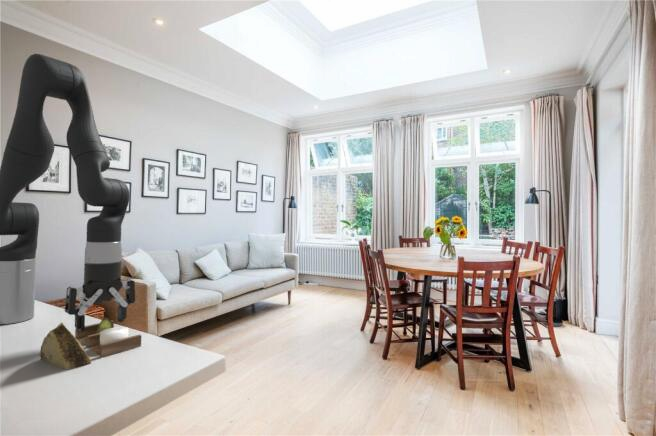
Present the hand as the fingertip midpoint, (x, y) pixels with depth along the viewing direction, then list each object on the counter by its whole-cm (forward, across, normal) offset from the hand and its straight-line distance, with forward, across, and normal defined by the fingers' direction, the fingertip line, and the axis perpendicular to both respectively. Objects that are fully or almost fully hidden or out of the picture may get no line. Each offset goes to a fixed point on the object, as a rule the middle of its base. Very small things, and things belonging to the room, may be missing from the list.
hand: (101, 325), depth 82 cm
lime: (+3, 0, 0) cm, 3 cm away
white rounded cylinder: (+3, 0, +8) cm, 8 cm away
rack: (+4, 0, +4) cm, 6 cm away
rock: (+4, +9, +8) cm, 13 cm away
